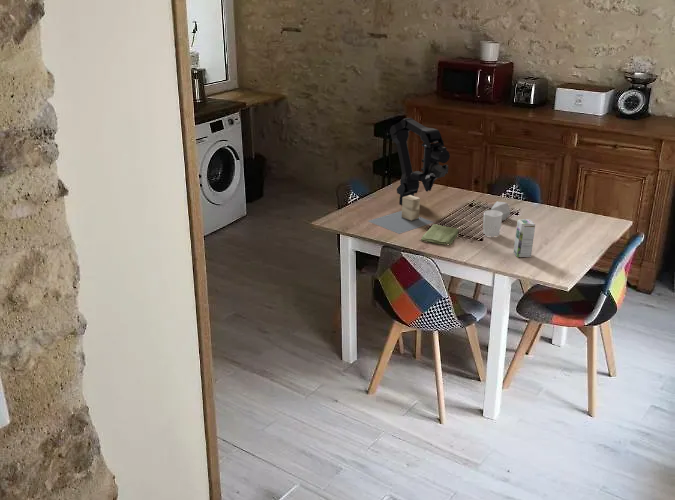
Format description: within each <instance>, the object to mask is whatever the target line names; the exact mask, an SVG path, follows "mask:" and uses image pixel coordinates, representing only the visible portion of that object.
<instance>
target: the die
mask: <svg viewBox="0 0 675 500" xmlns="http://www.w3.org/2000/svg"><path fill="white" fill-rule="evenodd" d="M490 210H496V211H500V212H502V213H503V215H502V221H503V220H505V221H506V220H507V219H508V217H509V215H510V213H511V208H510V206H509V203H508V202H504V201H497V200H496V201H495V202H494V204H493V205H492V207H491V209H490Z"/></svg>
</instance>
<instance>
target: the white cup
mask: <svg viewBox="0 0 675 500" xmlns="http://www.w3.org/2000/svg"><path fill="white" fill-rule="evenodd" d="M502 215H503V213H502V212H500V211H496V210H491V209H488V210H485V211H483V223H482V224H483V225H482V227H483V232H482V233H483V234H485V235H486V236H491V237H494V236H498V235H499V236H500V232H501V231H500V230H501V227H502V221H503V220H502ZM483 234H482V235H483ZM486 236H485V237H486ZM499 236H498V237H499ZM491 237H490V238H491Z"/></svg>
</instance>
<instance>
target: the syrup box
mask: <svg viewBox="0 0 675 500" xmlns="http://www.w3.org/2000/svg"><path fill="white" fill-rule="evenodd" d="M535 229H536V223H534V221H532V219H526V218H522V219H517V223H516V231H515V237H514V243H513V244H514V245H513V254H514V253H515V254H514V255H515V257H516V258H517V257H530V258H532V252H533V247H534V246H533V244H534V237H535V231H536V230H535Z"/></svg>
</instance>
